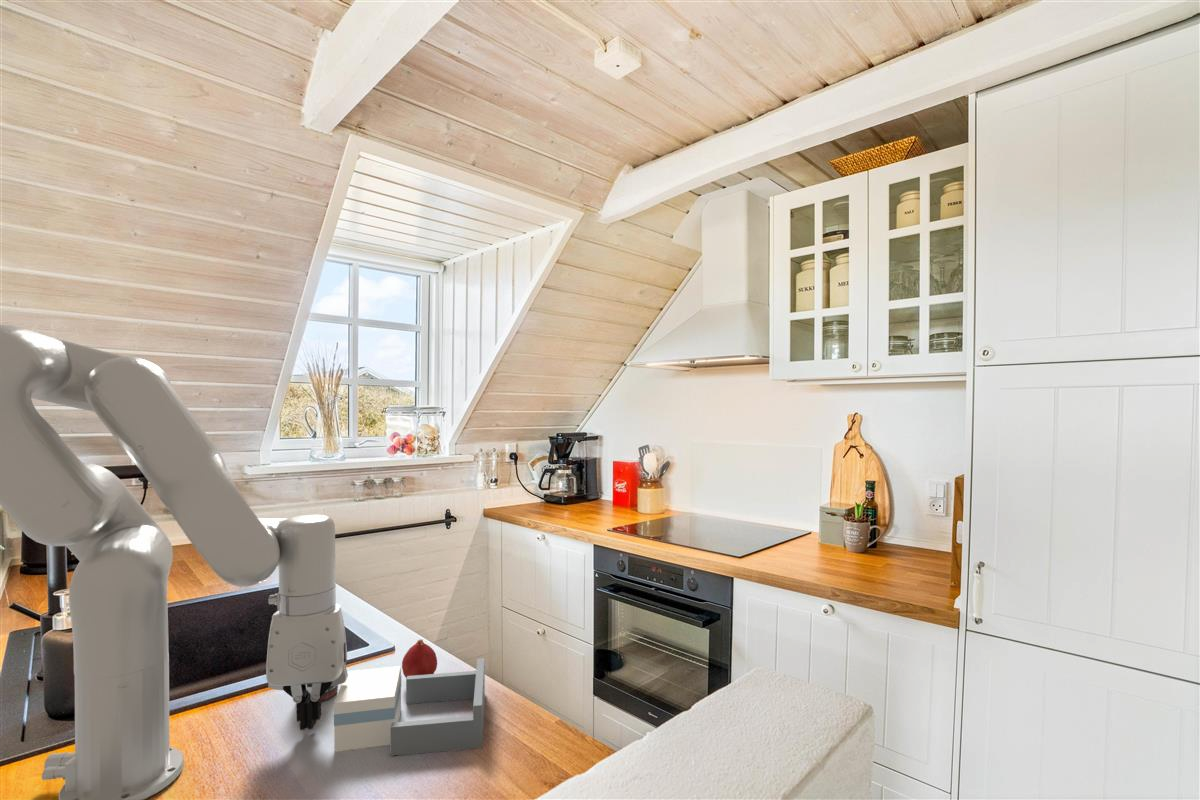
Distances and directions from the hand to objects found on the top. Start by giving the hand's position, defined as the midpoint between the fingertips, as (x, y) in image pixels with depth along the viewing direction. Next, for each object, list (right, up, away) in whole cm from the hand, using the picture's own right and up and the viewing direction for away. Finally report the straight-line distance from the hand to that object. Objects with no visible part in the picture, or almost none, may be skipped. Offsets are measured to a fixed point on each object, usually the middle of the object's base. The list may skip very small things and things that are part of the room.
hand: (309, 724), depth 89 cm
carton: (+8, -2, +1) cm, 9 cm away
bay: (+19, -1, +3) cm, 19 cm away
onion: (+12, -2, +15) cm, 19 cm away
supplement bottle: (-4, -2, +11) cm, 12 cm away
